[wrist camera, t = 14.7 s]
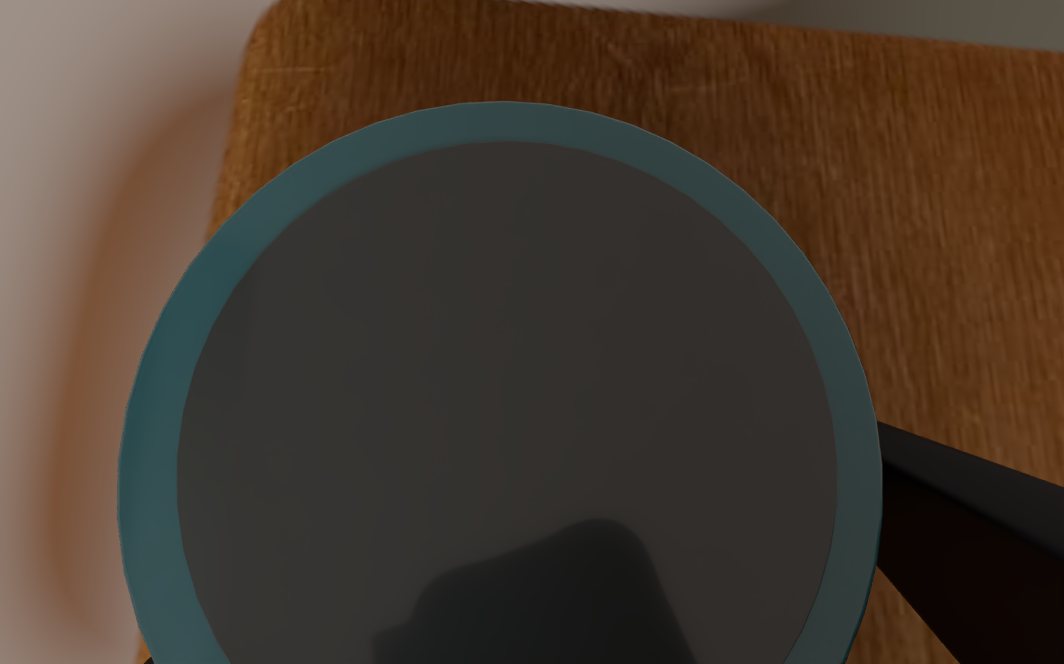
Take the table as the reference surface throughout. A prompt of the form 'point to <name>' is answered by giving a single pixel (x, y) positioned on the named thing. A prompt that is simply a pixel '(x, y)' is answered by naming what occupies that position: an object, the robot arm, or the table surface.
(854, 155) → the table surface
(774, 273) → the cup
